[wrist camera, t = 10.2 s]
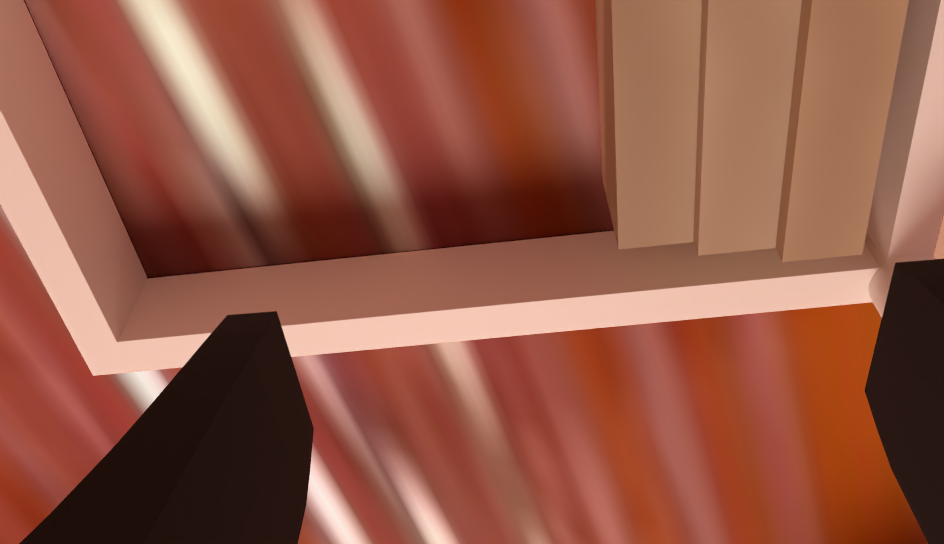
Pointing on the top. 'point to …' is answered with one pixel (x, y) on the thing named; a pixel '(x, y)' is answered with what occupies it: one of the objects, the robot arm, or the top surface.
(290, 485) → the robot arm
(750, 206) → the offcut stack
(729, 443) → the top surface
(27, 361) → the top surface
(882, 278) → the rack
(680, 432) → the top surface
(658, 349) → the top surface
